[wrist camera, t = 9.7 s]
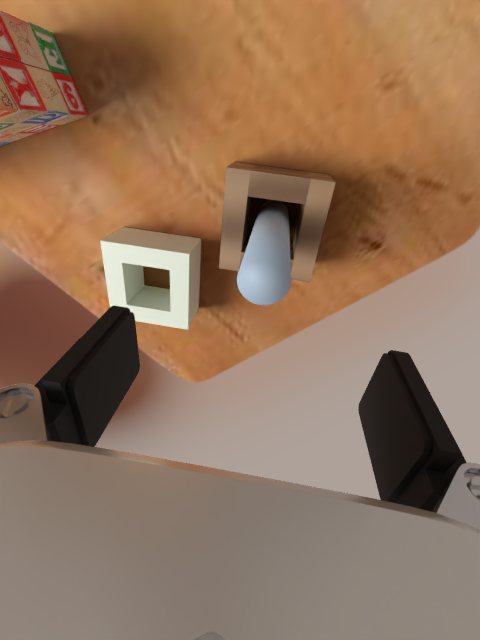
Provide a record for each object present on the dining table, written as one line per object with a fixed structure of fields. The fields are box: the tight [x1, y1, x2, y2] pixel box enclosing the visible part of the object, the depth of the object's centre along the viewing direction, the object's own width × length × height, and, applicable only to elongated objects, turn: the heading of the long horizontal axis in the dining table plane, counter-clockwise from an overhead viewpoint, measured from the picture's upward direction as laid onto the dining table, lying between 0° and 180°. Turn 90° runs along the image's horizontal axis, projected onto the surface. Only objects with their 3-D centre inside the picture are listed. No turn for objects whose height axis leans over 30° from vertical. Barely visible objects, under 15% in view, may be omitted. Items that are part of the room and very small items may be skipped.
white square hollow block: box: [100, 227, 201, 330], centre depth 34 cm, size 9×9×5 cm
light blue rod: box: [237, 200, 291, 305], centre depth 25 cm, size 3×3×16 cm
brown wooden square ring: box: [219, 162, 336, 282], centre depth 29 cm, size 9×9×5 cm
